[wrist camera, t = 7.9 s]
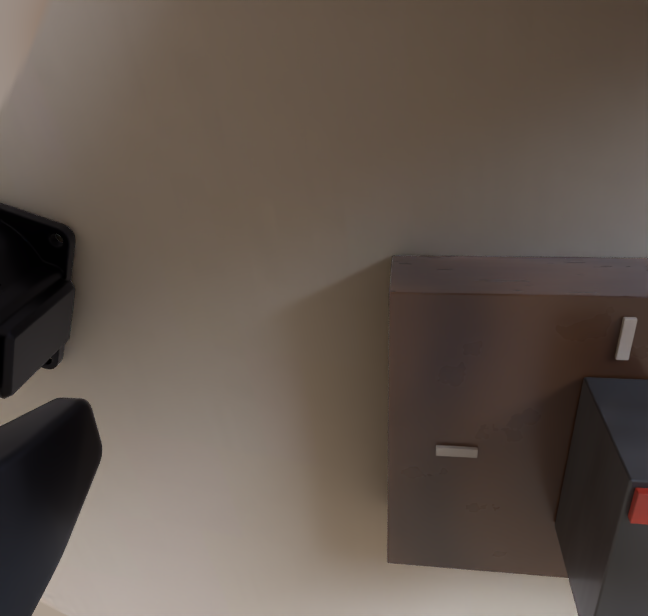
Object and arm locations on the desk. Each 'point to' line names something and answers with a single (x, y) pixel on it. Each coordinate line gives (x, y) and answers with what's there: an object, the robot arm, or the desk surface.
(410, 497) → the base
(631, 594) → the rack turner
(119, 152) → the desk surface
